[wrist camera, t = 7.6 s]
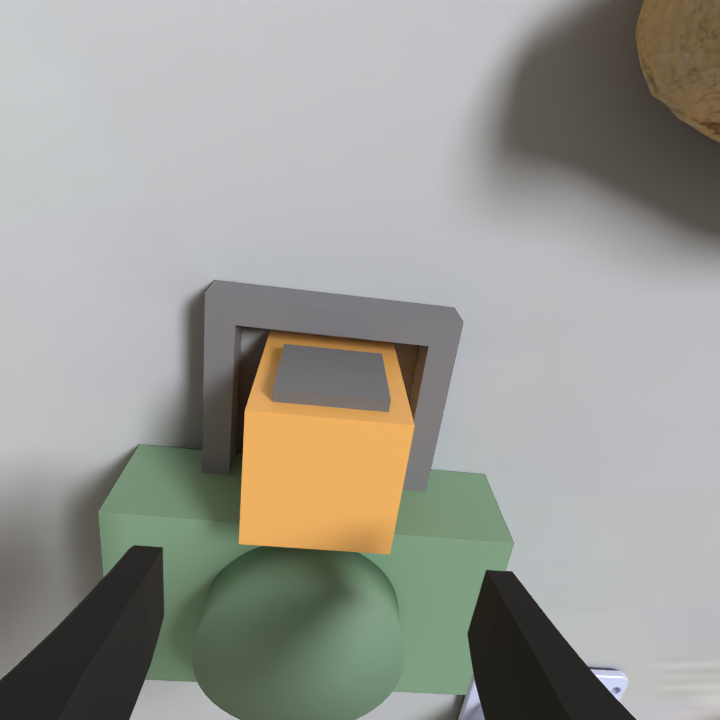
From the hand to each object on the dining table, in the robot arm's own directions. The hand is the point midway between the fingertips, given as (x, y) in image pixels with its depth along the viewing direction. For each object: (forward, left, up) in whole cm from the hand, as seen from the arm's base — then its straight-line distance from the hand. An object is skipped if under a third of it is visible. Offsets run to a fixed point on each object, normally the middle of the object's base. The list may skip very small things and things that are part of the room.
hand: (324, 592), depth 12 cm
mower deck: (-3, 0, -9) cm, 10 cm away
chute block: (0, 0, -10) cm, 10 cm away
